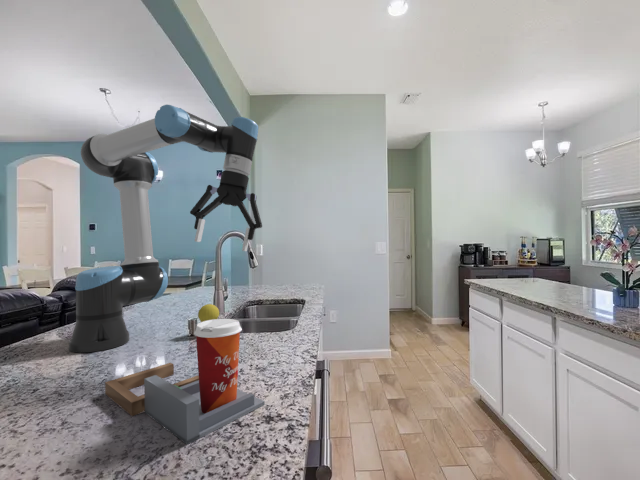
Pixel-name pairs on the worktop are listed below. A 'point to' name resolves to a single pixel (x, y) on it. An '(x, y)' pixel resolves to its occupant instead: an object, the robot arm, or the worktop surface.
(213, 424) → the port dock
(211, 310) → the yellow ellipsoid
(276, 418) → the worktop surface
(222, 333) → the coffee cup
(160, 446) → the worktop surface
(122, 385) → the wooden u-shaped frame
